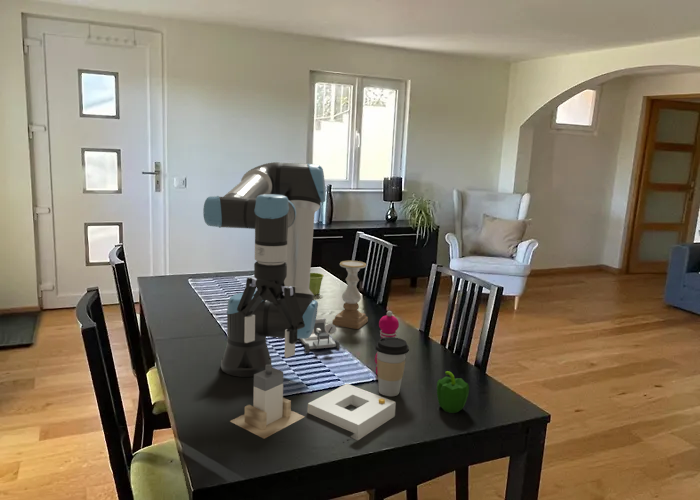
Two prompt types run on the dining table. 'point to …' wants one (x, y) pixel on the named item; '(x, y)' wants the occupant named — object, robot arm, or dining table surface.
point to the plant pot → (315, 282)
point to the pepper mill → (387, 328)
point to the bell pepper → (452, 393)
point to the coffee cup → (390, 364)
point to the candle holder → (351, 299)
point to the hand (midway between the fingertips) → (269, 348)
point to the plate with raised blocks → (257, 420)
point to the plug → (269, 393)
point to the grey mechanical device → (321, 336)
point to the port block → (358, 421)
